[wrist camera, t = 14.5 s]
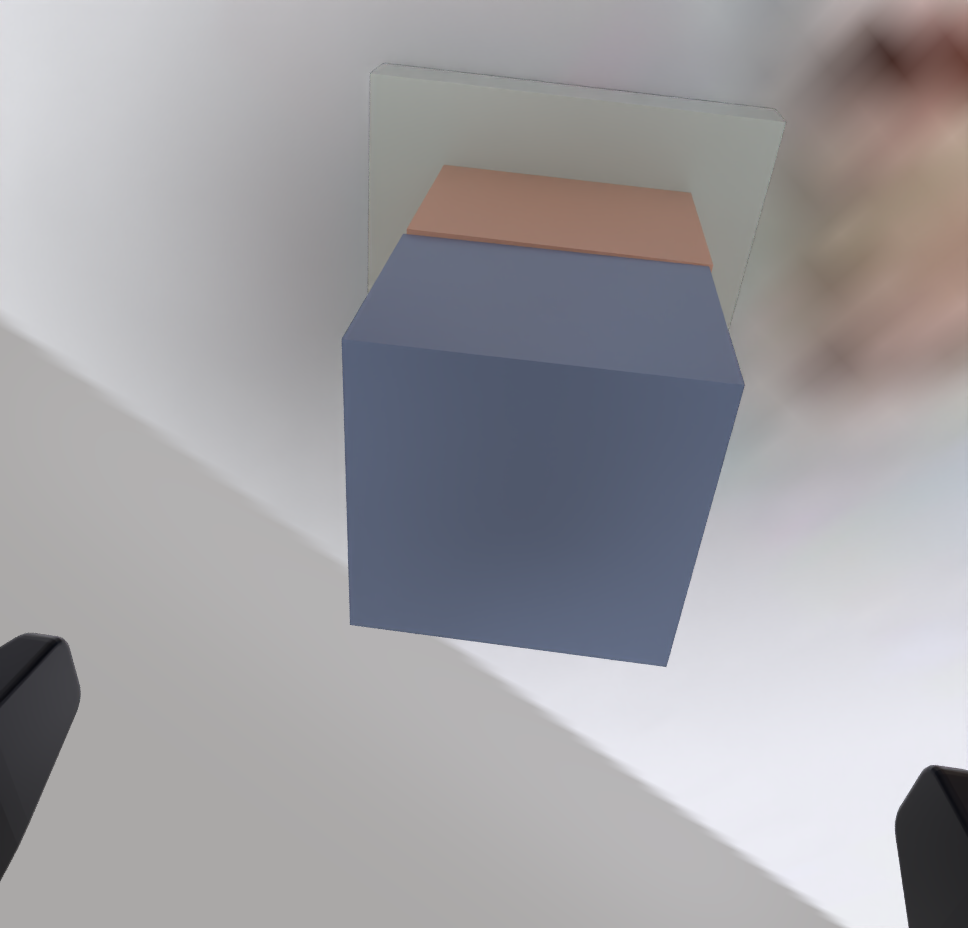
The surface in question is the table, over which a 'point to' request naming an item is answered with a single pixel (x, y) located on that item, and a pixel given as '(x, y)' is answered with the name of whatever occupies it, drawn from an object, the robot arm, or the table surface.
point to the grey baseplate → (569, 151)
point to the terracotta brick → (562, 215)
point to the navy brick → (533, 445)
